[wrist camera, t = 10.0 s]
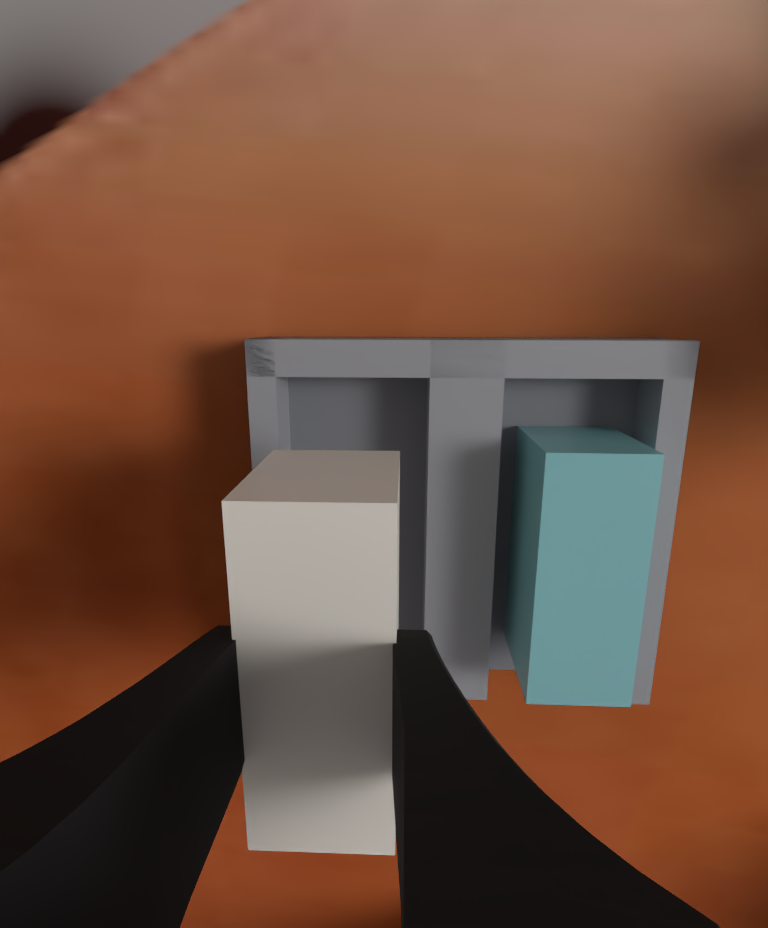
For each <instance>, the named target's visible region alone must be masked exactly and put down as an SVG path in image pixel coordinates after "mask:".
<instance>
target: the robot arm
mask: <svg viewBox="0 0 768 928" xmlns="http://www.w3.org/2000/svg"><path fill="white" fill-rule="evenodd" d="M244 761H245V757H244V744H243V731H242V718H241V704H240V691H239V678H238V664H237V651H236V640H232V632H231V626H217V627H215V628H214V629H212V630H210V631H209V632H207V633H206V634H205V635H203V636H202V637H200V638H199V639H197V640H196V641H195V642H193V643H192V644H191V645H189V646H188V647H186V648H185V649H184V650H182V651H181V652H180V653H178V654H177V655H175V656H174V657H173V658H171V659H170V660H168V661H167V662H166V663H164V664H163V665H161V666H160V667H159V668H157V669H156V670H154V671H153V672H152V673H150V674H149V675H147V676H146V677H144V678H143V679H142V680H140V681H139V682H137V683H136V684H134V685H133V686H131V687H130V688H128V689H127V690H125V691H123V692H122V693H120V694H119V695H117V696H116V697H114V698H113V699H111V700H110V701H108V702H107V703H105V704H103V705H102V706H100V707H99V708H97V709H96V710H94V711H93V712H91V713H90V714H88V715H86V716H85V717H83V718H81V719H80V720H78V721H76V722H75V723H73V724H71V725H70V726H68V727H66V728H64V729H63V730H61V731H59V732H58V733H56V734H54V735H52V736H50V737H48V738H46V739H45V740H43V741H41V742H39V743H37V744H35V745H34V746H32V747H30V748H28V749H26V750H24V751H22V752H21V753H19V754H17V755H15V756H13V757H11V758H9V759H7V760H4V761H2V762H0V928H180V925H181V923H182V920H183V917H184V914H185V912H186V909H187V906H188V903H189V901H190V898H191V895H192V893H193V890H194V888H195V885H196V883H197V881H198V878H199V876H200V873H201V871H202V868H203V866H204V863H205V861H206V858H207V856H208V854H209V851H210V849H211V846H212V844H213V841H214V839H215V836H216V834H217V831H218V829H219V827H220V824H221V822H222V819H223V817H224V814H225V812H226V809H227V807H228V804H229V802H230V799H231V797H232V794H233V792H234V789H235V787H236V784H237V782H238V779H239V776H240V774H241V771H242V768H243V765H244ZM392 782H393V797H394V812H395V826H396V841H397V855H398V870H399V885H400V899H401V922H402V928H720V927H719V925H718V924H716V923H715V922H713V921H712V920H710V919H709V918H707V917H706V916H704V915H703V914H701V913H700V912H698V911H697V910H695V909H694V908H692V907H691V906H690V905H688V904H687V903H685V902H684V901H682V900H681V899H679V898H678V897H676V896H675V895H673V894H672V893H670V892H669V891H667V890H666V889H664V888H663V887H661V886H660V885H659V884H657V883H656V882H654V881H653V880H651V879H650V878H648V877H647V876H645V875H644V874H642V873H641V872H639V871H638V870H637V869H635V868H634V867H633V866H631V865H630V864H629V863H627V862H626V861H625V860H624V859H622V858H621V857H620V856H618V855H617V854H616V853H615V852H613V851H612V850H611V849H609V848H608V847H607V846H606V845H604V844H603V843H602V842H600V841H599V840H598V839H597V838H595V837H594V836H593V835H592V834H590V833H589V832H588V831H587V830H586V829H584V828H583V827H582V826H581V825H580V824H579V823H577V822H576V821H575V820H574V819H573V818H572V817H571V816H570V815H569V814H567V813H566V812H565V811H564V810H563V809H562V808H561V807H560V806H559V805H557V804H556V803H555V802H554V801H553V800H552V799H551V798H550V797H549V796H548V795H546V794H545V793H544V792H543V791H542V790H541V789H540V788H539V787H538V786H537V785H536V784H535V783H534V782H533V781H532V780H531V779H530V778H529V777H528V776H527V775H526V773H525V772H524V771H523V770H522V769H521V768H520V767H519V766H518V765H517V764H516V762H515V761H514V760H513V759H512V758H511V757H510V756H509V755H508V754H507V752H506V751H505V750H504V749H503V748H502V746H501V745H500V744H499V743H498V742H497V740H496V739H495V738H494V737H493V735H492V734H491V733H490V732H489V730H488V729H487V728H486V726H485V725H484V724H483V722H482V721H481V720H480V718H479V717H478V716H477V714H476V713H475V711H474V710H473V709H472V707H471V706H470V704H469V703H468V701H467V700H466V698H465V697H464V695H463V694H462V692H461V690H460V689H459V687H458V686H457V684H456V683H455V681H454V680H453V678H452V676H451V674H450V673H449V671H448V669H447V667H446V666H445V664H444V662H443V660H442V658H441V656H440V654H439V652H438V650H437V648H436V646H435V643H434V641H433V638H432V635H431V634H430V633H429V632H428V631H427V630H403V629H397V642H396V643H393V673H392Z"/></svg>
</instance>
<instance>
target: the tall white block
mask: <svg viewBox="0 0 768 928" xmlns="http://www.w3.org/2000/svg"><path fill="white" fill-rule="evenodd" d="M399 500H400V451H357V450H273V451H272V452H271V453H270V454H269V455H268V456H267V457H266V458H265V459H264V460H263V461H262V462H261V463H260V464H259V465H258V466H256V467H255V468H254V469H253V470H252V471H251V472H250V473H249V474H248V475H247V476H246V477H245V478H244V479H243V480H242V481H241V482H240V483H239V484H238V485H237V486H236V487H235V488H234V489H233V490H232V491H231V492H230V493H229V494H228V495H227V496H226V497H225V498H224V499H223V500H222V501H221V502H222V515H223V528H224V541H225V554H226V567H227V580H228V593H229V606H230V619H231V632H232V640H236V651H237V664H238V678H239V691H240V704H241V718H242V731H243V744H244V757H245V761H244V765H243V768H242V775H243V788H244V801H245V815H246V828H247V841H248V850H263V851H290V852H318V853H346V854H373V855H395V830H396V826H395V812H394V797H393V782H392V673H393V643H396V642H397V629H398V627H399Z"/></svg>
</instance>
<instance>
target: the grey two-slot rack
mask: <svg viewBox="0 0 768 928" xmlns="http://www.w3.org/2000/svg"><path fill="white" fill-rule="evenodd" d="M244 342H245V359H246V376H247V393H248V410H249V427H250V444H251V461H252V470H253V469H254V468H255V467H256V466H258V465H259V464H260V463H261V462H262V461H263V460H264V459H265V458H266V457H267V456H268V455H269V454H270V453H271V452H272V451H273V450H357V451H400V500H399V627H398V629H403V630H427V631H428V632H429V633H430V634H431V635H432V638H433V641H434V643H435V646H436V648H437V650H438V652H439V654H440V656H441V658H442V660H443V662H444V664H445V666H446V667H447V669H448V671H449V673H450V674H451V676H452V678H453V680H454V681H455V683H456V684H457V686H458V687H459V689H460V690H461V692H462V694H463V695H464V697H465V698H466V699H471V700H487V687H488V669H498V670H515V667H514V663H513V660H512V657H511V654H510V651H509V647H508V644H507V641H506V638H505V635H504V621H505V606H506V590H507V575H508V560H509V545H510V530H511V514H512V499H513V484H514V469H515V453H516V438H517V426H591V427H613V428H615V429H616V430H618V431H620V432H622V433H624V434H626V435H628V436H630V437H632V438H634V439H636V440H638V441H640V442H642V443H644V444H646V445H647V446H649V447H651V448H653V449H655V450H657V451H659V452H661V453H663V454H665V456H664V464H663V471H662V479H661V486H660V493H659V501H658V508H657V516H656V523H655V531H654V538H653V546H652V553H651V561H650V568H649V575H648V583H647V590H646V598H645V605H644V613H643V620H642V628H641V635H640V643H639V650H638V657H637V665H636V672H635V680H634V687H633V695H632V702H631V704H649V703H650V696H651V689H652V681H653V674H654V667H655V660H656V653H657V646H658V638H659V631H660V624H661V617H662V610H663V603H664V595H665V588H666V581H667V574H668V567H669V560H670V552H671V545H672V538H673V531H674V524H675V516H676V509H677V502H678V495H679V488H680V481H681V473H682V466H683V459H684V452H685V445H686V438H687V430H688V423H689V416H690V409H691V402H692V395H693V387H694V380H695V373H696V366H697V359H698V352H699V344H700V341H695V340H680V339H665V338H463V337H261V338H252V339H244Z"/></svg>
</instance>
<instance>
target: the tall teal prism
mask: <svg viewBox="0 0 768 928" xmlns="http://www.w3.org/2000/svg"><path fill="white" fill-rule="evenodd" d="M664 456H665V454H663V453H661V452H659V451H657V450H655V449H653V448H651V447H649V446H647V445H646V444H644V443H642V442H640V441H638V440H636V439H634V438H632V437H630V436H628V435H626V434H624V433H622V432H620V431H618V430H616V429H615V428H613V427H591V426H517V438H516V453H515V469H514V484H513V499H512V514H511V530H510V545H509V560H508V575H507V590H506V606H505V621H504V635H505V638H506V641H507V644H508V647H509V651H510V654H511V657H512V660H513V663H514V667H515V670H516V673H517V676H518V679H519V683H520V686H521V689H522V692H523V695H524V699H525V702H526V704H548V705H581V706H614V707H631V702H632V695H633V687H634V680H635V672H636V665H637V657H638V650H639V643H640V635H641V628H642V620H643V613H644V605H645V598H646V590H647V583H648V575H649V568H650V561H651V553H652V546H653V538H654V531H655V523H656V516H657V508H658V501H659V493H660V486H661V479H662V471H663V464H664Z"/></svg>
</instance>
